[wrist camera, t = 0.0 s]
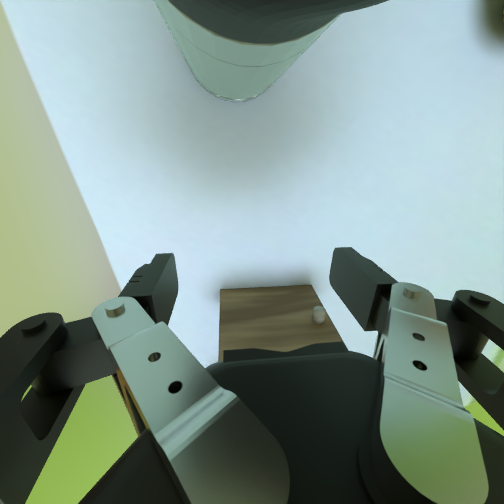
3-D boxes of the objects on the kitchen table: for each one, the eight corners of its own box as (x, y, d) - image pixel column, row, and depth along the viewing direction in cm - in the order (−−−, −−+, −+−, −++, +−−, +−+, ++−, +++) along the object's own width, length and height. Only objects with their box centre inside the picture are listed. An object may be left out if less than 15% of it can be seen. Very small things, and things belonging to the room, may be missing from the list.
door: (219, 280, 33) (217, 353, 22) (312, 276, 34) (353, 343, 23) (221, 303, 34) (219, 381, 24) (309, 298, 36) (345, 370, 25)
